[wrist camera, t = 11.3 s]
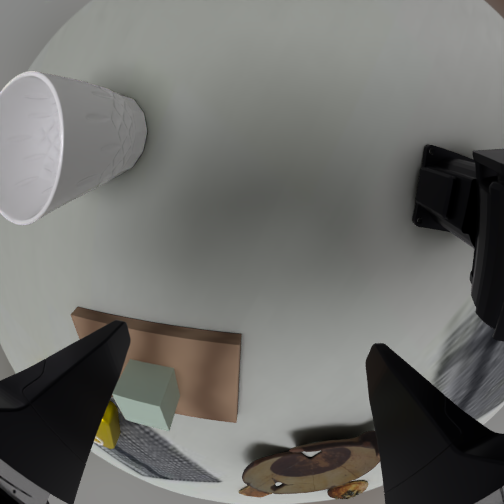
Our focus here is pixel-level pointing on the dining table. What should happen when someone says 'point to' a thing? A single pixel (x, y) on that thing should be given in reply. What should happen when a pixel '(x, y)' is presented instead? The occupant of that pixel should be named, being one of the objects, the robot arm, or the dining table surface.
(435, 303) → the dining table surface
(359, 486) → the bread roll
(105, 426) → the element tile
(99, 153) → the white cup
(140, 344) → the walnut board
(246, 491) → the shard
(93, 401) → the robot arm
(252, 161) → the dining table surface
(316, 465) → the oil lamp
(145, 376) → the sage cube
